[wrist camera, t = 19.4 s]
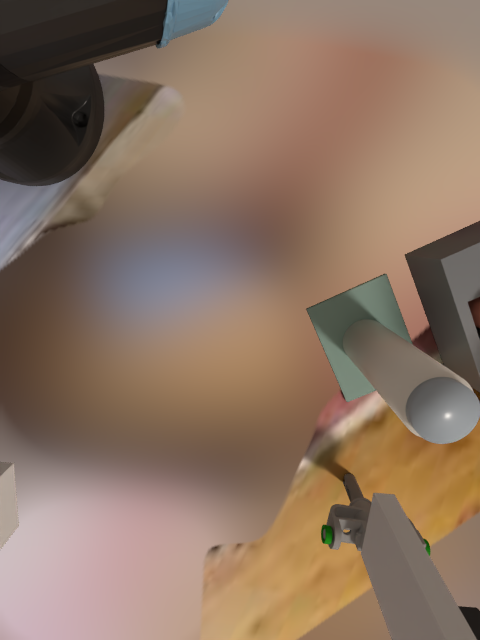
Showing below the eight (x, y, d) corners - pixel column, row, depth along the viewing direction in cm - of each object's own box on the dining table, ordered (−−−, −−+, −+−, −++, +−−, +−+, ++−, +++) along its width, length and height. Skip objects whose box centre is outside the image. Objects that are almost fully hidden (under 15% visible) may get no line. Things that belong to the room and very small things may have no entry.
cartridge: (339, 360, 39) (400, 444, 24) (346, 317, 38) (416, 375, 23) (383, 364, 39) (474, 450, 24) (392, 321, 38) (493, 382, 23)
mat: (306, 308, 38) (306, 309, 38) (384, 273, 37) (386, 274, 37) (346, 400, 41) (347, 402, 40) (421, 370, 40) (422, 371, 39)
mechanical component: (310, 462, 43) (329, 530, 33) (392, 474, 43) (435, 545, 33) (305, 483, 44) (322, 555, 34) (386, 495, 44) (426, 569, 34)
